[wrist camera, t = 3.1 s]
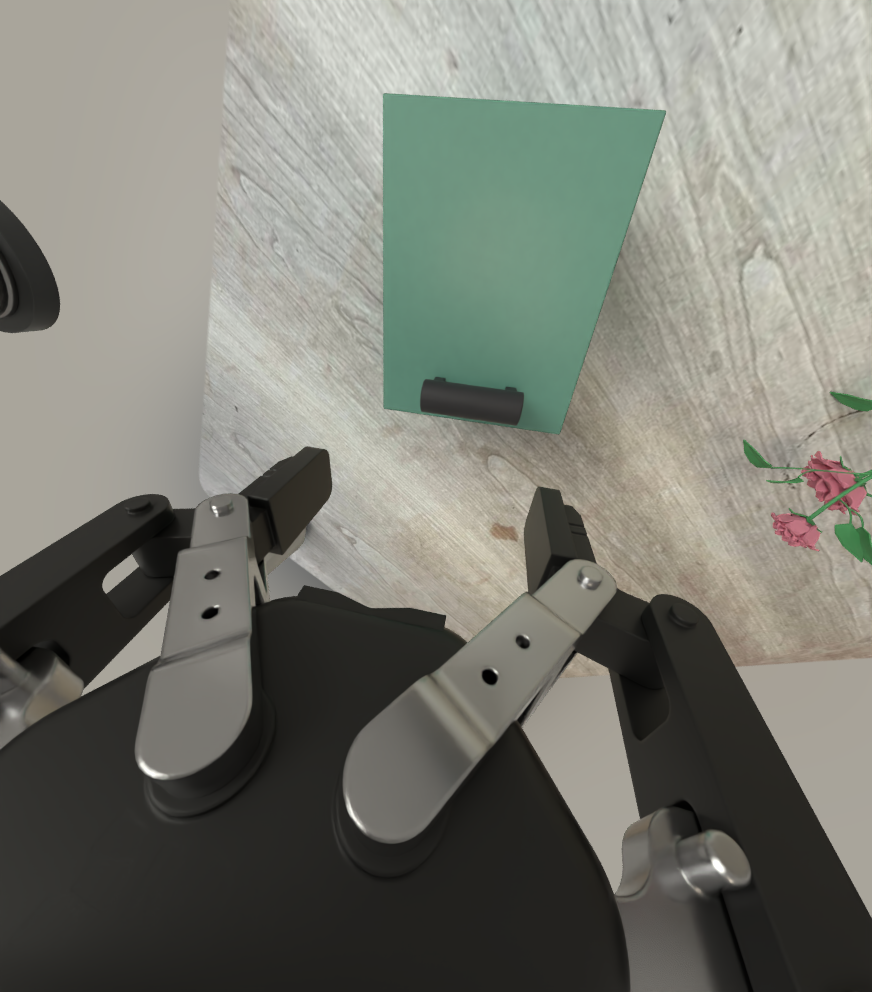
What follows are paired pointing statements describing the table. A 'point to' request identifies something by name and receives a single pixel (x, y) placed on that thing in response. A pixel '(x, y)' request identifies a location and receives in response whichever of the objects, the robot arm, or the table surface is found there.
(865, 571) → the table surface
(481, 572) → the table surface
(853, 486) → the flower vase
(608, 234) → the chest lid
